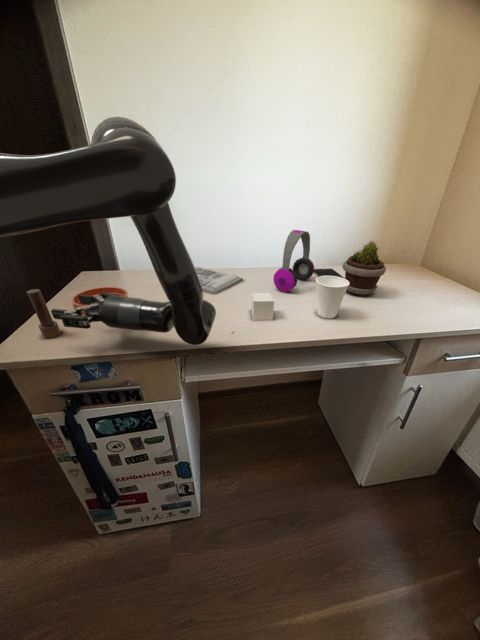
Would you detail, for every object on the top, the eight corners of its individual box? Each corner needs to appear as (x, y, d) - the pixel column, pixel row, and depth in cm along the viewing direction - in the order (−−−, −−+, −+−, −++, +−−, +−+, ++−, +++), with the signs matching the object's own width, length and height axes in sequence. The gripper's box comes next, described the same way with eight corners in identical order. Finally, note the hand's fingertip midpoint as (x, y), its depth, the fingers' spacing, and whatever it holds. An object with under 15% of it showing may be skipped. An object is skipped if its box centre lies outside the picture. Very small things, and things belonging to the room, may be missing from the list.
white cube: (273, 319, 85) (274, 301, 82) (253, 320, 84) (253, 301, 81) (270, 310, 90) (271, 293, 87) (251, 311, 89) (251, 293, 86)
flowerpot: (338, 283, 114) (348, 230, 103) (378, 288, 111) (392, 234, 100) (336, 296, 102) (347, 238, 91) (380, 302, 99) (397, 242, 88)
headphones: (291, 295, 101) (297, 237, 90) (270, 290, 105) (273, 233, 94) (314, 280, 116) (321, 228, 105) (295, 275, 120) (300, 225, 109)
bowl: (71, 322, 79) (66, 309, 77) (80, 301, 91) (76, 289, 89) (129, 315, 84) (126, 303, 82) (131, 296, 96) (128, 285, 94)
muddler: (41, 339, 71) (20, 294, 65) (45, 331, 74) (26, 288, 68) (59, 337, 72) (40, 293, 66) (62, 329, 76) (45, 287, 69)
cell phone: (331, 270, 127) (331, 268, 127) (349, 284, 113) (350, 282, 112) (313, 271, 126) (313, 268, 125) (329, 285, 111) (329, 283, 111)
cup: (304, 310, 91) (309, 277, 85) (329, 306, 95) (335, 274, 89) (322, 324, 84) (328, 288, 78) (349, 318, 87) (356, 284, 81)
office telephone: (243, 274, 112) (211, 289, 97) (243, 280, 113) (212, 296, 98) (197, 263, 121) (162, 275, 106) (198, 269, 122) (163, 282, 107)
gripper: (142, 287, 69) (83, 280, 71) (105, 311, 57) (35, 303, 59) (148, 314, 73) (92, 308, 75) (114, 342, 61) (49, 334, 63)
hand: (67, 306), depth 67 cm, fingers open, 8 cm apart
